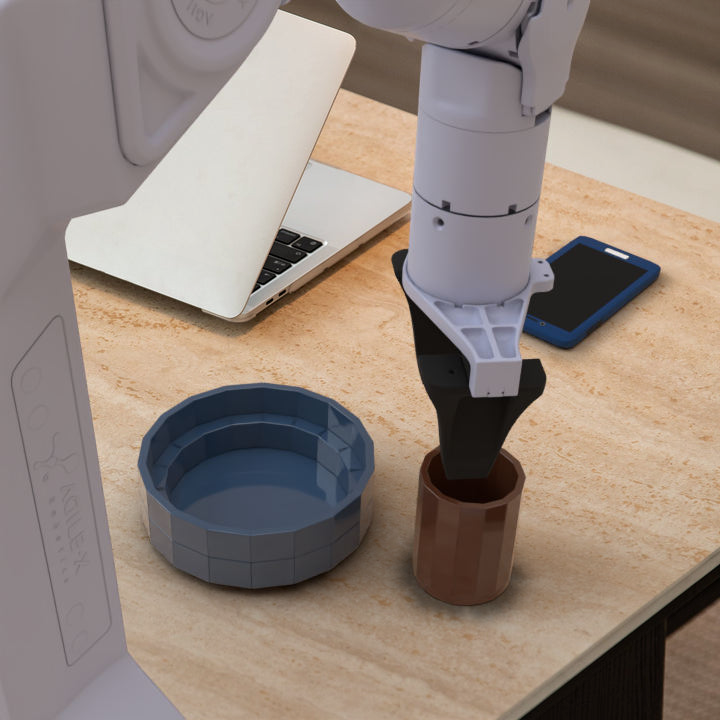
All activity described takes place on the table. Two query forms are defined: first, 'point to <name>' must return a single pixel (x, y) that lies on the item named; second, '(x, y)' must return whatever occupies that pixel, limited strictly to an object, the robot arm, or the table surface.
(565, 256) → the cell phone
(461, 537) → the cup
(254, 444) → the bowl
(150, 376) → the table surface
